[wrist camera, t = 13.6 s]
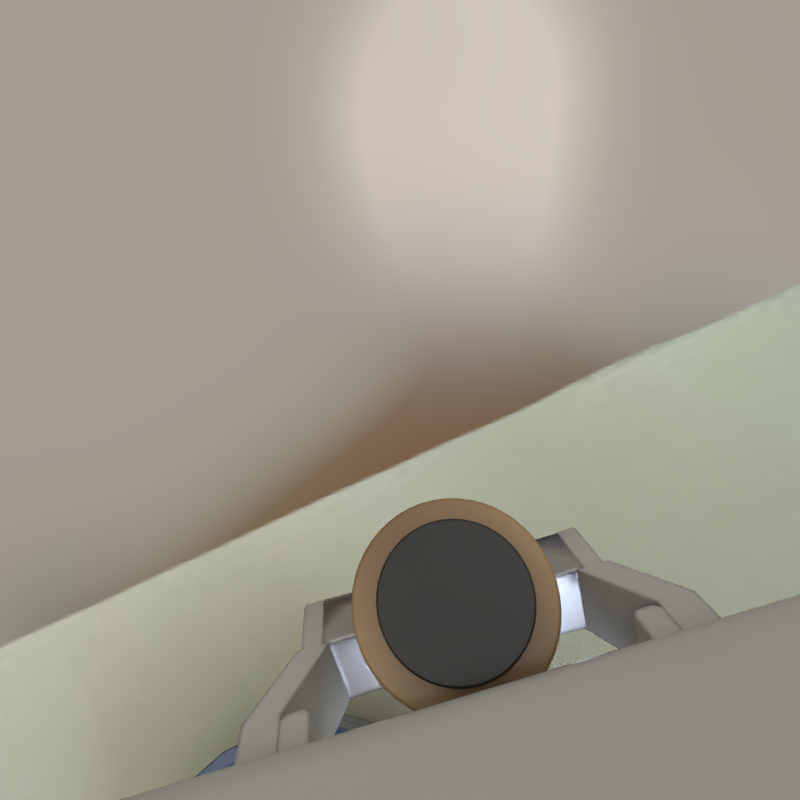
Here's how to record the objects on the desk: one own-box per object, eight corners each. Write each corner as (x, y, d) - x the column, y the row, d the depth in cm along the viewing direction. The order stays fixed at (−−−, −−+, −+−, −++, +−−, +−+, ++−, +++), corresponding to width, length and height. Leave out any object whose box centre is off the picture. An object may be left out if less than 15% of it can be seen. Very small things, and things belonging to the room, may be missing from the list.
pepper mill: (454, 528, 20) (461, 450, 12) (542, 627, 18) (616, 612, 10) (362, 611, 19) (303, 585, 11) (445, 723, 17) (447, 787, 9)
